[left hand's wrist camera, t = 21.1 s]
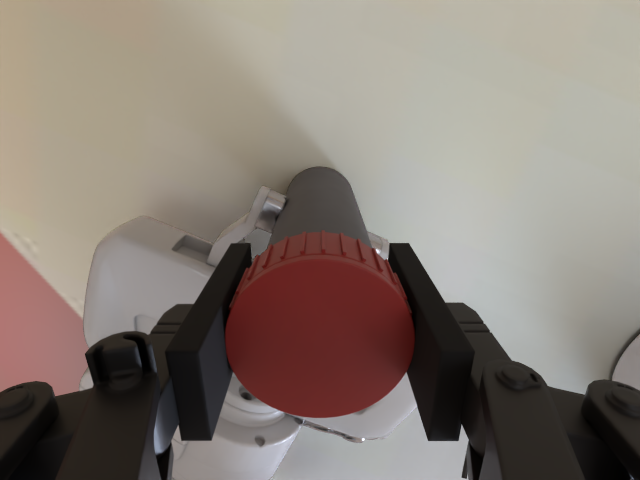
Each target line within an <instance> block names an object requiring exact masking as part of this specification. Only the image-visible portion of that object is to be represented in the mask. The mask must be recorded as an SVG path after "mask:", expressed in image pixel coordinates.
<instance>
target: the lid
mask: <svg viewBox="0 0 640 480" xmlns="http://www.w3.org/2000/svg"><path fill="white" fill-rule="evenodd" d="M228 310H230V313H229V316H228V318H227V322H226V327H225V345H226V354H227V358H228V361H229V364H230V366H231V368H232V370H233V372H234V374H235V375H236V377H237V379H238V380H239V381H240V383H241V384H242V385H243V386H244V387H245V388H246V389H247V390H248V391H249V392H250V393H251V394H252V395H253V396H255V397H256V398H257V399H259V400H260V401H261V402H263V403H265V404H267V405H268V406H270V407H272V408H275V409H277V410H279V411H282V412H285V413H288V414H291V415H296V416H301V417H309V418H331V417H339V416H344V415H349V414H352V413H355V412H358V411H361V410H363V409H365V408H367V407H370V406H371V405H373V404H375V403H377V402H378V401H380V400H381V399H382V398H384V397H385V396H387V395H388V394H389V393H390V392H391V391H392V390H393V389H394V388H395V387H396V386H397V385H398V383H399V382H400V381H401V380H402V378H403V377H404V375H405V373H406V372H407V370H408V368H409V365H410V363H411V361H412V357H413V352H414V343H415V328H414V324H413V319H412V315H413V313H412V311H411V308H410V306H409V304H408V301H407V297H406V294H405V292H404V290H403V288H402V285H401V283H400V281H399V278H398V276H397V274H396V272H395V273H393V272H392V269H391V267H390V264H389V262H388V260H387V259H385V260H384V259H383V258H382V257H381V256H380V255H379V254H378V253H377V251H376V249H375V248H374V247H373V248H370V247H369V246H367V245H366V244H364V243H362V242H361V239H357V240H356V239H353V238H351V237H348V236H344V234H343V233H340V234H336V233H328V232H325V230H321V232H312V233H306V231H305V232H303V233H302V234H299V235H295V236H292V237H289V238H288V236H286V237H285V238H284V240H281V241H280V242H278V243H276V244H274V245H272V244H270V245H269V246H268V249H267V250H266V251H264V252H263V253H262V254H261V255H260V256H259V255H257V256H256V257H255V259H254V262H253V264H252V265H251V266H250V268H246V270H245V272H244V274H243V277H242V279H241V281H240V283H239V285H238V287H237V290H236V292H235V294H234V297H233V299H232V301H231V303H230V306H229V308H228Z"/></svg>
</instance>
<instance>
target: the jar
mask: <svg viewBox="0 0 640 480" xmlns="http://www.w3.org/2000/svg"><path fill="white" fill-rule="evenodd" d="M286 196H287V198H286V201H285V204H284V206H283V209H282V211H281V213H280V215H279V216H278V219H277V221H276V224H275V227H274V230H273V233H272V236H271V238H270V241H269V244H268V246H269V245H270V244H272V245H274V244H276V243H278V242H280V241H281V240H284V238H285V237H286V236H288V238H289V237H292V236H295V235H299V234H302V233H303V232H305V231H306V233H312V232H321V230H325V232H328V233H336V234H340V233H343V234H344V236H348V237H351V238H353V239H356V240H357V239H361V242H362V243H364V244H366V245H367V246H369V247H370V248H373V247H372V245H371V242H370V239H369V236H368V233H367V230H366V228H365V225H364V222H363V219H362V216H361V214H360V211H359V208H358V205H357V202H356V199H355V197H354V194H353V191H352V188H351V186H350V184H349V182H348V181H347V180H346V178H345V177H344V176H343V175H342V174H340V173H339V172H337V171H335V170H333V169H331V168H327V167H313V168H309V169H306V170H304V171H302V172H301V173H299V174H298V175H297V176H296V177H295V178H294V179H293V180H292V182H291V183H290V185H289V188H288V190H287V193H286ZM267 249H268V247H267Z"/></svg>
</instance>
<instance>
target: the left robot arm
mask: <svg viewBox="0 0 640 480" xmlns="http://www.w3.org/2000/svg"><path fill="white" fill-rule="evenodd" d="M388 262H389V264H390V267H391V269H392V272H393V273H395V272H396V274H397V276H398V278H399V281H400V283H401V285H402V288H403V290H404V292H405V294H406V297H407V301H408V304H409V306H410V308H411V311H412V313H413V315H412V319H413V324H414V328H415V343H414V352H413V357H412V361H411V363H410V365H409V368H408V370H407V375H408V378H409V382H410V385H411V388H412V391H413V394H414V397H415V401H416V404H417V407H418V410H419V413H420V416H421V420H422V423H423V426H424V429H425V432H426V435H427V439H428V441H459V435H460V430H461V424H462V425H463V428H464V430H465V432H466V434H467V437H468V439H469V442H468V447H467V452H466V457H465V462H464V467H463V472H462V478H466V479H467V474H468V479H469V480H640V390H638V389H636V388H634V387H632V386H629V385H627V384H624V383H620V382H617V381H610V380H597V381H593V382H592V383H591V384H589V385H588V388H587V391H586V394H585V395H583V394H578V393H574V392H569V391H565V390H560V389H556V388H552V387H549V386H547V384H546V383H545V381H544V380H543V378H542V377H541V376H540V375H539V374H538V373H537V372H535V371H534V370H533V369H532V368H530V367H528V366H526V365H523V364H521V363H519V362H515V361H512V360H511V359H510V358H509V356H508V355H507V354H506V352H505V351H504V349H503V348H502V347H501V345H500V344H499V343H498V341H497V340H496V338H495V337H494V336H493V334H492V333H490V330H489V329H488V328H487V326H486V325H485V324H483V321H482V319H481V318H480V317H479V315H478V314H477V312H476V311H474V310H473V309H471V308H470V307H468V306H467V305H465V304H464V303H445V302H444V300H443V298H442V297H441V295H440V293H439V292H438V290H437V288H436V287H435V285H434V284H433V282H432V280H431V279H430V277H429V275H428V274H427V272H426V271H425V269H424V267H423V266H422V264H421V262H420V261H419V259H418V257H417V256H416V254H415V253H414V251H413V249H412V248H411V246H410V244H409V243H389V255H388ZM251 265H252V258H251V245H250V243H231V244H230V246H229V247H228V249H227V251H226V252H225V254H224V255H223V257H222V259H221V260H220V262H219V264H218V265H217V267H216V269H215V270H214V272H213V273H212V275H211V277H210V278H209V280H208V282H207V283H206V285H205V286H204V288H203V290H202V291H201V293H200V295H199V296H198V298H197V300H196V301H195V303H194V304H176V305H175V306H173V307H172V308H170V309H169V310H167V311H166V312H165V313H164V314H163V315H162V316H161V318H160V319H159V321H158V322H157V325H155V326H154V327H153V329H152V330H151V332H150V334H148V335H147V334H146V333H143V332H139V331H125V332H121V333H117V334H113V335H110V336H108V337H106V338H103V339H101V340H100V341H98V342H97V343H95V344H94V345H92V346H91V347H90V348H89V350H88V351H87V352H86V353H85V356H86V360H87V363H88V367H89V370H90V374H91V377H92V381H93V387H92V388H89V389H86V390H82V391H78V392H73V393H69V394H64V395H60V396H55V395H54V392H53V389H52V387H51V386H50V385H49V384H48V383H46V382H38V381H34V382H27V383H22V384H19V385H16V386H13V387H10V388H8V389H6V390H4V391H2V392H0V480H172V470H173V459H174V453H173V447H172V442H171V440H172V438H173V436H174V433H175V431H176V429H177V427H178V426H179V431H180V436H181V441H212V438H213V435H214V432H215V428H216V425H217V422H218V419H219V416H220V413H221V409H222V406H223V403H224V400H225V397H226V394H227V390H228V387H229V384H230V381H231V378H232V375H233V370H232V368H231V366H230V364H229V361H228V358H227V354H226V345H225V327H226V322H227V318H228V316H229V313H230V310H228V308H229V306H230V303H231V301H232V299H233V297H234V294H235V292H236V290H237V287H238V285H239V283H240V281H241V279H242V277H243V274H244V272H245V270H246V268H250V266H251Z"/></svg>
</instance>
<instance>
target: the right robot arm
mask: <svg viewBox="0 0 640 480" xmlns="http://www.w3.org/2000/svg"><path fill="white" fill-rule="evenodd" d="M286 198H287V196H285V195H283V194H281V193H278V192H276V191H274V190H272V189H270V188H268V187H265V186H261V188H260V189H259V191H258V193H257V195H256V197H255V200H254V202H253V205H252V207H251V210H250V212H248V213H247V214H245V215H244V216H243V217H241V218H240V219H239V220H237V221H236V222H234V223H233V224H232V225H230V226H229V227H227V228H226V229H225V230H223V232H222V233H221V234H220V236H219V237H218V238H217V240H216V241H215V242H214V243H212V242H210V241H207V240H205V239H202V238H200V237H197V236H195V235H192V234H190V233H187V232H185V231H182V230H180V229H177V228H175V227H172V226H170V225H167V224H165V223H162V222H160V221H158V220H155V219H153V218H150V217H147V216H140V217H137V218H135V219H133V220H130V221H128V222H126V223H124V224H122V225H120V226H119V227H117V228H115V229H114V230H112V231H111V232H110V233H108V234H107V235H106V236H105V237H104V238H103V239H102V240H101V241H100V242H99V244H98V245H97V247H96V250H95V253H94V256H93V259H92V263H91V268H90V272H89V277H88V283H87V289H86V297H85V305H84V317H83V330H84V337H85V340H86V343H87V345H88V347H89V348H90V347H91V346H92V345H94V344H95V343H97V342H98V341H100V340H101V339H103V338H106V337H108V336H110V335H113V334H117V333H121V332H125V331H139V332H143V333H146V334H147V335H148V334H150V332H151V330H152V329H153V327H154V326H155V325H157V322H158V321H159V319H160V318H161V316H162V315H163V314H164V313H165V312H166V311H167V310H169V309H170V308H172V307H173V306H175V305H176V304H194V303H195V301H196V300H197V298H198V296H199V295H200V293H201V291H202V290H203V288H204V286H205V285H206V283H207V282H208V280H209V278H210V277H211V275H212V273H213V272H214V270H215V269H216V267H217V265H218V264H219V262H220V260H221V259H222V257H223V255H224V254H225V252H226V251H227V249H228V247H229V246H230V244H231V243H245V240H244V239H243V238H244V237H246V236H247V235H248V234H250V233H251V232H252V231H254V230H255V229H256V228H259V229H262V230H265V231H267V232H270V233H272V232H273V229H274V227H275V224H276V221H277V219H278V216H279V215H280V213H281V211H282V209H283V206H284V204H285V201H286ZM367 233H368V236H369V239H370V242H371V245H372V247H374V248H375V249H376V251H377V253H378V254H379V255H380V256H381V257H382V258H383V259H384V260H385V259H387V258H388V255H389V242H388V240H387V239H384V238H382V237H380V236H377V235H375V234H373V233H370V232H368V231H367ZM253 262H254V259H252V264H253ZM612 381H617V382H620V383H624V384H627V385H629V386H632V387H634V388H636V389H638V390H640V334H639V335H638V336H637V337H636V338H635V339H634V340H633V341H632V343H631V344H630V345H629V346H628V347H627V349H626V350H625V351H624V353H623V354H622V356H621V358H620V359H619V361H618V363H617V365H616V367H615V370H614V373H613V376H612ZM92 387H93V381H92V377H91V374H90V370H89V367H88V368H87V369H86V371H85V373H84V374H83V376H82V378H81V381H80V384H79V391H82V390H86V389H89V388H92ZM416 407H417V404H416V401H415V397H414V394H413V391H412V388H411V385H410V382H409V378H408V375H407V372H406V373H405V375H404V377H403V378H402V380H401V381H400V382H399V383H398V385H397V386H396V387H395V388H394V389H393V390H392V391H391V392H390V393H389V394H388V395H387V396H385V397H384V398H382V399H381V400H380V401H378V402H377V403H375V404H373V405H371V406H370V407H367V408H365V409H363V410H361V411H358V412H355V413H352V414H349V415H344V416H339V417H331V418H309V417H301V416H296V415H291V414H288V413H285V412H282V411H279V410H277V409H275V408H272V407H270V406H268V405H267V404H265V403H263V402H261V401H260V400H259V399H257V398H256V397H255V396H253V395H252V394H251V393H250V392H249V391H248V390H247V389H246V388H245V387H244V386H243V385H242V384H241V383H240V381H239V380H238V379H237V377H236V375H235V374H234V372H233V375H232V378H231V381H230V384H229V387H228V390H227V394H226V397H225V400H224V403H223V406H222V409H221V413H220V416H219V419H218V422H217V425H216V428H215V432H214V435H213V438H212V441H181V436H180V431H179V426H178V427H177V429H176V431H175V433H174V436H173V438H172V440H171V442H172V447H173V453H174V459H173V470H172V480H270V479H271V477H272V476H273V475H274V473H275V471H276V469H277V468H278V466H279V464H280V463H281V461H282V459H283V458H284V456H285V454H286V452H287V451H288V449H289V447H290V446H291V444H292V442H293V441H294V439H295V437H296V435H297V434H298V432H299V430H300V428H301V427H302V425H303V426H306V427H309V428H312V429H315V430H318V431H321V432H325V433H331V434H335V435H338V436H341V437H343V438H344V439H346V440H348V441H351V442H355V443H362V442H363V441H364V439H367V440H373V439H378V438H379V439H384V438H386V437H388V436H389V435H390V434H391V433H392V431H393V430H394V428H395V427H396V426H398V425H399V424H400V423H401V422H402V421H403V420H404V419H405V418H406V417H407V416H408V415H409V414H410V413H411V412H412V411H413V410H414V409H415V408H416Z"/></svg>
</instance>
